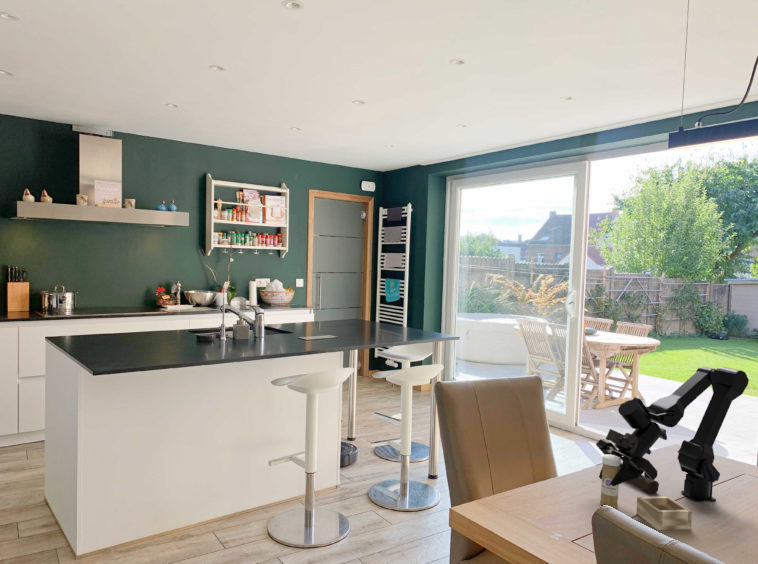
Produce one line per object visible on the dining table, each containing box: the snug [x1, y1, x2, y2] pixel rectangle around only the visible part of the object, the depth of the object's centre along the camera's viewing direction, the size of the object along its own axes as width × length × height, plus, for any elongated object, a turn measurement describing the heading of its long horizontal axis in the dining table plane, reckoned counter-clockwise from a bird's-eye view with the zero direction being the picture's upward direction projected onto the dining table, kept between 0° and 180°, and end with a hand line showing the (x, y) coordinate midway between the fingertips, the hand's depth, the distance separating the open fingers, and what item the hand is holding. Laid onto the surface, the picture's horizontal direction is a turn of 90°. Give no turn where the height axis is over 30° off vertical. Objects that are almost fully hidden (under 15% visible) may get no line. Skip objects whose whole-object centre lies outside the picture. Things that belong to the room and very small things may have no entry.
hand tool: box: [619, 462, 660, 495], centre depth 169 cm, size 19×4×5 cm, turn 17°
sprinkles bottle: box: [599, 454, 622, 509], centre depth 151 cm, size 5×5×13 cm
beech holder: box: [635, 496, 693, 531], centre depth 142 cm, size 9×9×4 cm
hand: (605, 481), depth 150 cm, fingers closed on sprinkles bottle, 4 cm apart
